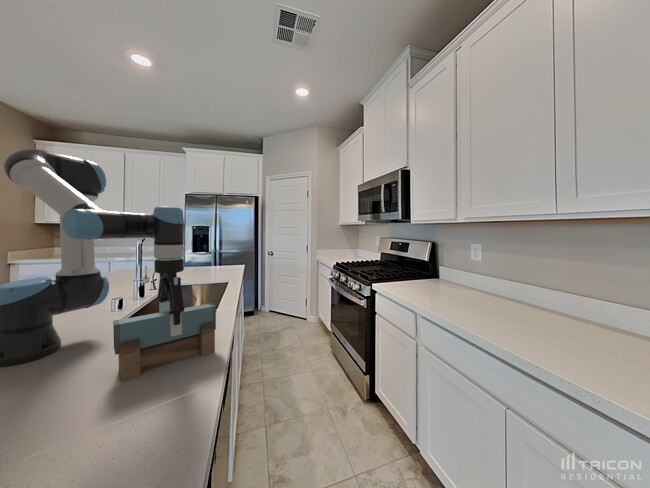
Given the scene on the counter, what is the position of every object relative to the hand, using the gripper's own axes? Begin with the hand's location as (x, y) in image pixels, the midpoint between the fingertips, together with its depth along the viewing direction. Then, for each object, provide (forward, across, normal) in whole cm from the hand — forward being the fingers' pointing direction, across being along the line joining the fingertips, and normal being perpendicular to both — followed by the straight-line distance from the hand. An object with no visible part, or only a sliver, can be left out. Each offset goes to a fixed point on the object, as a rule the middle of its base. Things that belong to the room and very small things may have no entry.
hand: (170, 328), depth 77 cm
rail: (+3, 0, 0) cm, 3 cm away
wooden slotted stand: (+10, 0, 0) cm, 10 cm away
